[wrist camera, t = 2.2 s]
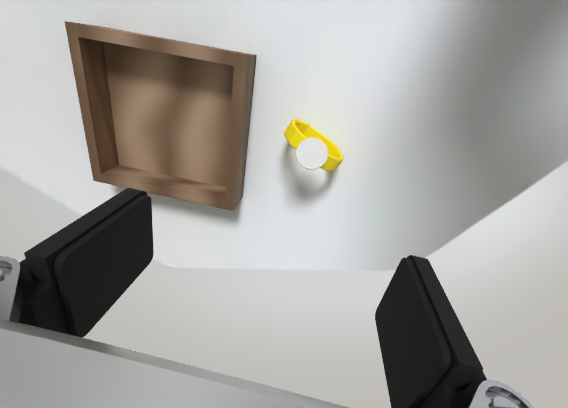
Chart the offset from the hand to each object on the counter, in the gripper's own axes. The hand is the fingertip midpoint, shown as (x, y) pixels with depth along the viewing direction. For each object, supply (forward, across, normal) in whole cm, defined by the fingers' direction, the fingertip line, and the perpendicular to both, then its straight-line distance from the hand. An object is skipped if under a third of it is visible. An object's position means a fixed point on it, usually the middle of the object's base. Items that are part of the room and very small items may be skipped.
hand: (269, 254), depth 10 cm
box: (+21, +14, +2) cm, 25 cm away
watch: (+21, -1, 0) cm, 21 cm away
